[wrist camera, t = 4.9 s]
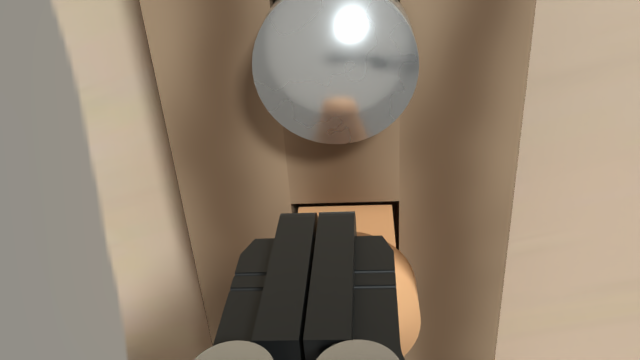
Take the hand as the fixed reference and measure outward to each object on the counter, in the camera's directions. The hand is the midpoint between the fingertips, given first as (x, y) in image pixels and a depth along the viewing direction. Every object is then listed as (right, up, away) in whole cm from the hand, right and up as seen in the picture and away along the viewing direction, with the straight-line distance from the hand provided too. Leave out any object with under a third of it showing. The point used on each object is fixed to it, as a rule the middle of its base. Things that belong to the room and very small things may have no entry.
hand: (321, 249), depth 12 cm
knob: (+1, +8, +13) cm, 15 cm away
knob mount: (+1, 0, +17) cm, 17 cm away
